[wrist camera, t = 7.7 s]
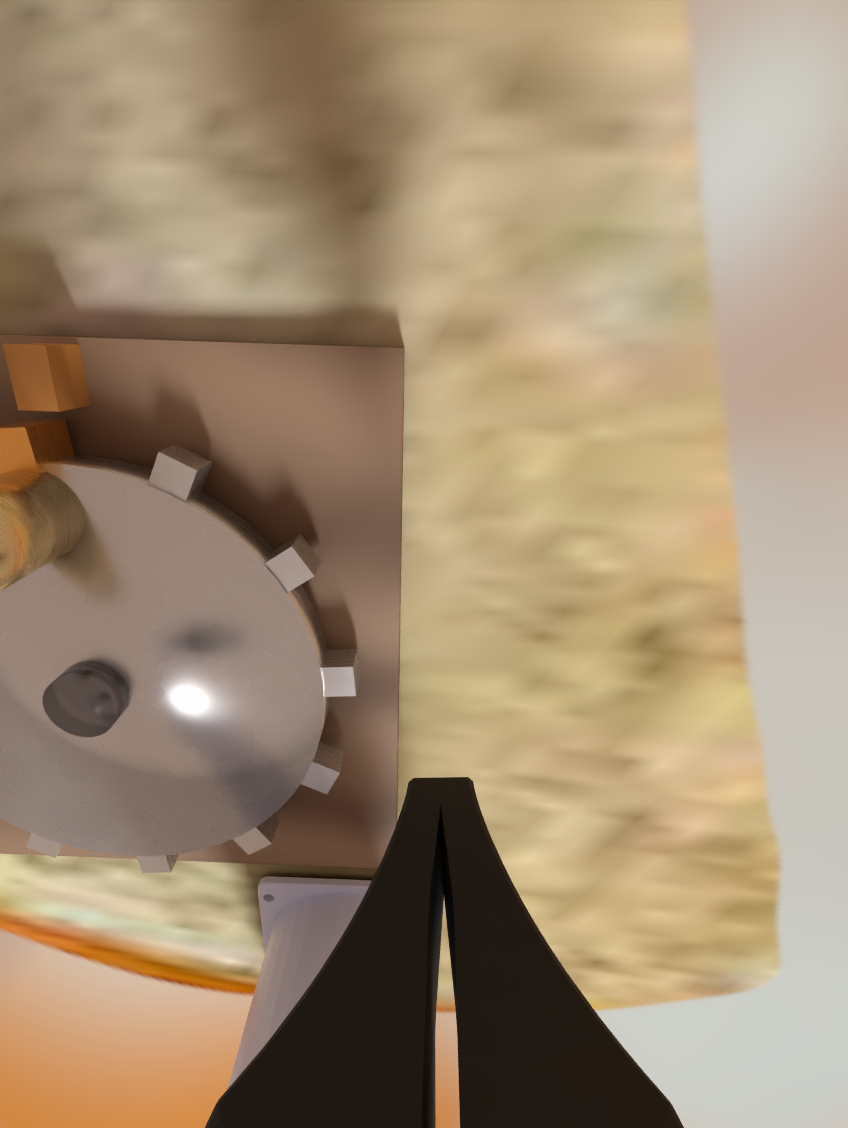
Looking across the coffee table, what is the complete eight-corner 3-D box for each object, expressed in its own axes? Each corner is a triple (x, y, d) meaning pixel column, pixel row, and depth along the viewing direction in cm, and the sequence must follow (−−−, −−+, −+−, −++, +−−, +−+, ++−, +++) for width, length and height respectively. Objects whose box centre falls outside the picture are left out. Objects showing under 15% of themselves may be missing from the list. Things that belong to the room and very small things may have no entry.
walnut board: (396, 853, 26) (393, 902, 24) (-51, 836, 26) (-97, 882, 24) (404, 347, 18) (399, 349, 15) (-254, 326, 18) (-353, 324, 15)
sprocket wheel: (377, 841, 24) (362, 977, 19) (-31, 848, 25) (-153, 980, 20) (333, 407, 17) (290, 436, 12) (-232, 431, 18) (-500, 469, 13)
